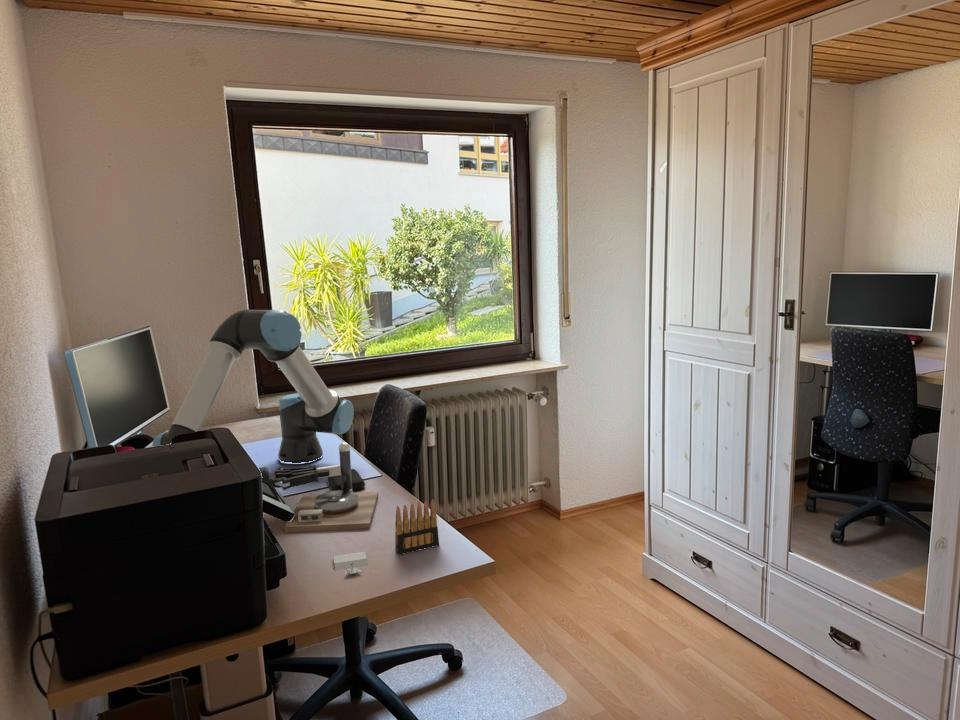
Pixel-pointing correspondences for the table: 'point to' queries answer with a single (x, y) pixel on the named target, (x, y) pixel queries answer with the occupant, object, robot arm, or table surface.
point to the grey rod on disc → (341, 498)
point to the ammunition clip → (416, 529)
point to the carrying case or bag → (356, 481)
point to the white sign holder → (350, 562)
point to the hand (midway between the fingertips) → (340, 469)
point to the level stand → (332, 515)
